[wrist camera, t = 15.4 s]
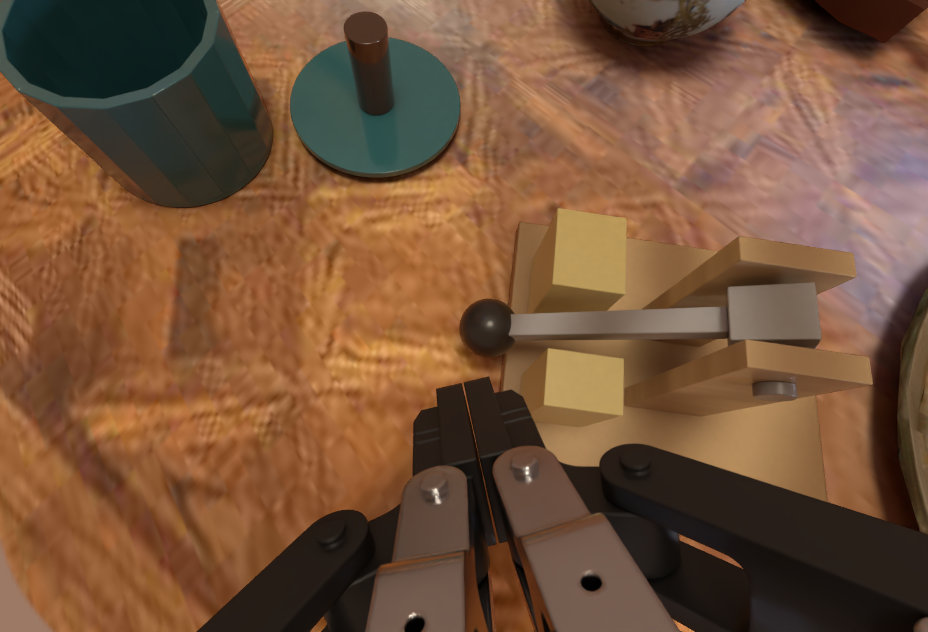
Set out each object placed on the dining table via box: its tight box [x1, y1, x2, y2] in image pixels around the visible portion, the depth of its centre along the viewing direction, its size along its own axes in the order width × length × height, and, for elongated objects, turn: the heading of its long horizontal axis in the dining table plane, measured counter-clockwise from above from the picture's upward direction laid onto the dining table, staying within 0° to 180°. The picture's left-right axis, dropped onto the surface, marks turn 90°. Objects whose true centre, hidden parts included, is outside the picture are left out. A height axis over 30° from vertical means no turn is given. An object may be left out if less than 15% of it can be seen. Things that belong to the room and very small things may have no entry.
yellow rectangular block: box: [520, 348, 624, 427], centre depth 23 cm, size 3×2×6 cm
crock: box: [0, 0, 273, 207], centre depth 26 cm, size 10×10×8 cm
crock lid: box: [290, 12, 460, 178], centre depth 29 cm, size 11×11×7 cm
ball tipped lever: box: [459, 282, 822, 358], centre depth 21 cm, size 15×3×3 cm, turn 83°
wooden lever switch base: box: [500, 222, 873, 502], centre depth 22 cm, size 18×16×12 cm
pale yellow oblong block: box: [528, 208, 627, 314], centre depth 25 cm, size 3×4×6 cm
